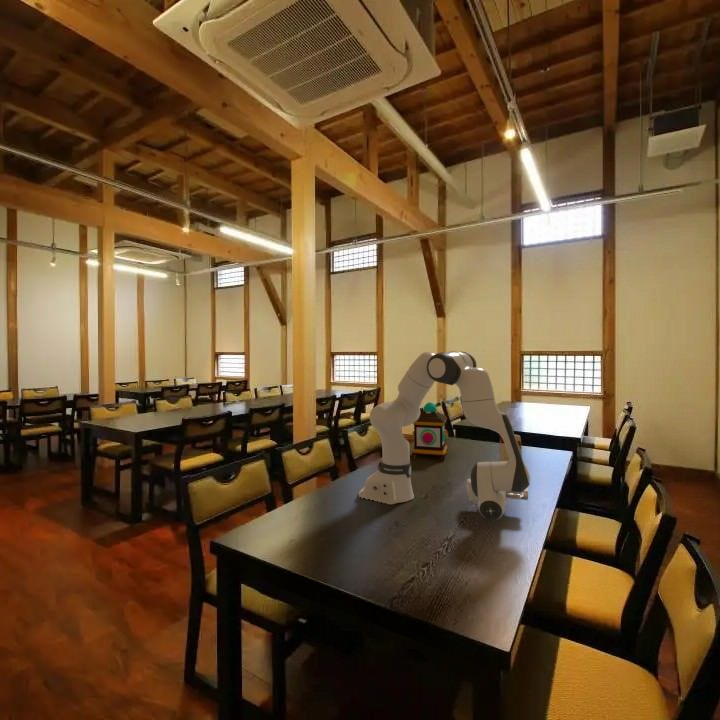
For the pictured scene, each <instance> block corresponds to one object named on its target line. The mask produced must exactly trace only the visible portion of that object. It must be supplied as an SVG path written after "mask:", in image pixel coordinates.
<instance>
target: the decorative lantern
mask: <svg viewBox="0 0 720 720" xmlns="http://www.w3.org/2000/svg"><path fill="white" fill-rule="evenodd" d="M447 419H448V417H447V416H446V415H445V414H444V413H440V412H439V411H438V410H437V406H436V405H435V404H434V403H433V402H431V401H429V402H427V403H425V405H424V406H423V411H422V412H420V417H419V419H418V420H417V421H415V422H414V423H412V424H413V429H414V430H413V431H412V432H411V434H412V437H413V438H414V439H413V440H414V447H413V450H412V452H411V458H412V459H414V460H415V458H416V455H421V456H437V457H441V461H442V460H443V461H442V462H444V461H445V457H446V454H448V452H449V449H448V445H447V444H446V443H447V441H446V439H447V438H449V431H448V430H447V429H446V422H447Z"/></svg>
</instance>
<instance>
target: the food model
mask: <svg viewBox="0 0 720 720" xmlns="http://www.w3.org/2000/svg"><path fill="white" fill-rule="evenodd" d="M514 435H515V438H516V441H517V444H518V447H519V450H520V453H521V456H523V455H522V450H523V449H522V439H521V436H520V434H519V435H518V434H515V433H514ZM498 453H499V459H498V460H499V461H498V462H501V461H508V460H509V456H508V453H507V450H506V447H505V443H504V440H503V438H502V437H501V435H499V451H498Z"/></svg>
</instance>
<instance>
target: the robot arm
mask: <svg viewBox="0 0 720 720" xmlns="http://www.w3.org/2000/svg"><path fill="white" fill-rule="evenodd" d="M476 361H477V360H476V359H475V357H474V356H473V355H472V354H470V353H468V352H466V351H456V350H455V351H453V350H452V351H445V352H443V351H442V352H437V353H433V352H431V351H424V352H422V353H420V355H419V356H418V357H417V358H416V359H415V360H414V361H413V362H412V364H411V365H410V366H409V367H408V369H407V370H406V372H405V374H404V376H403V377H402V378H401V380H400V382H399V383H398V386H397V390H398V392H399V393H398V395H397V397H396V398H395V399H394V400H392V401H387V402H382V403H380V404H378V405H376V406H374V407H373V408H371V410H370V413H369V422H370V424H371V426H372V428H373V429H375V431H377V433H378V435H379V437H380V441H381V448H382V449H381V450H382V452H381V453H382V458H381V459H380V460H379V462H378V463H377V464H376V466H377V467H376V468H377V469H378V470H376V471H374V472H373V473H372V474H371V475H369V476H368V477H367V478H366V479H365V482H364V485H363V488H361V489H360V490H359V492H358V498H360V497H361V498H360V499H363V498H365V500H368V499H370V500H369V501H372V500H374V501H373V502H377V501H378V502H377V503H381V502H382V504H385V503H386V504H385V505H395V504H398V503H399V504H400V503H405V502H409V501H411V500H413V499H414V498H415V495H414V492H413V485H412V480H411V478H412V477H411V476H412V463H411V461H410V460H411V458H410V455H411V454H410V452H411V451H410V450H411V449H410V447H411V446H410V442H409V440H408V439H406V438H405V436H404V433H403V428H405V427H407V426H410V425H412V424H413V423H414V422H415V421H417V420H418V419H419V417H420V413H421V404H422V402H423V401H424V399H425V398H426V395H427V394H428V392H430V390H431V388H432V387H433V385H434V384H435V383H436V382H437V383H440V384H443V385H449V386H454V385H456V386H457V387H458V389H459V392H460V401H461V407H462V411H463V416H464V417H465V419H466V420H467V421H468V422H469V423H472V424H473V425H475V426H478V427H480V428H483V429H487V430H491V431H493V432H496V433H497V434H499V436H501V437H502V438H503V440H504V443H505V447H506V450H507V453H508V456H509V460H508V461H501V462H499V461H479V462H478V461H477V462H476V463H475V464H474V465H473V467H472V468H471V470H470V471H471V472H470V478H467V479H466V492H467V495H468V500H470V501H472V502H476V503H477V506H478V512H479V515H481V517H482V518H484V519H486V520H489V521H498V520H499V519H501V518H502V517H503V516H504V513H505V512H506V511H505V510H506V506H507V499H511V500H520V499H522V498H525V497H524V496H525V494H524V493H523V491H524V490H525V489H526V488H527V487H528V488H529V487H530V483H531V476H530V473H529V470H528V467H527V465H526V463H525V461H524V459H523V457H522V456H523V455H522V456H521V453H520V450H519V447H518V444H517V441H516V438H515V435H514V434H515V433H514V429H513V427H512V423H511V421H510V419H509V416H508V415H507V414H506V412H503V411H501V410H500V409H499V407H498V406H497V403H496V401H495V400H496V398H495V392H494V388H493V384H492V381H491V378H490V374H489V373H488V371H487V370H485V369H484V368H481V367H478V366H477V362H476Z"/></svg>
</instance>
